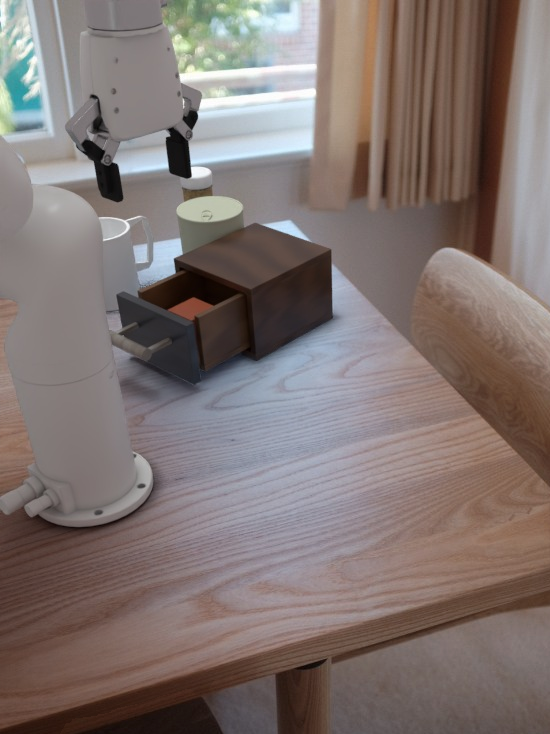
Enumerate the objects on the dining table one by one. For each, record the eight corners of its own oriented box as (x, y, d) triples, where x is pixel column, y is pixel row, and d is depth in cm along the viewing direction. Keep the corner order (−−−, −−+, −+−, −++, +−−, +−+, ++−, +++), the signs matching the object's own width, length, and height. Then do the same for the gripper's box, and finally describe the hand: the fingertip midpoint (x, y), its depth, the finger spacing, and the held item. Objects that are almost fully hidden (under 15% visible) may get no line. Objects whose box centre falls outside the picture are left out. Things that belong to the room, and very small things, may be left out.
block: (195, 352, 112) (191, 320, 109) (171, 341, 114) (166, 309, 111) (221, 339, 115) (217, 307, 112) (197, 328, 117) (193, 297, 114)
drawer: (164, 402, 106) (154, 342, 100) (96, 366, 112) (83, 308, 107) (272, 341, 116) (268, 284, 111) (205, 312, 123) (198, 257, 117)
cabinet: (256, 361, 114) (250, 289, 108) (182, 327, 121) (173, 258, 115) (332, 317, 123) (331, 248, 117) (260, 288, 130) (255, 222, 124)
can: (181, 301, 127) (170, 218, 119) (190, 273, 134) (180, 192, 126) (247, 301, 127) (240, 217, 119) (252, 272, 134) (246, 191, 126)
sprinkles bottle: (196, 269, 135) (185, 178, 126) (185, 257, 138) (174, 168, 130) (225, 262, 137) (216, 173, 128) (213, 251, 140) (204, 163, 131)
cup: (174, 290, 130) (165, 221, 123) (101, 317, 124) (87, 247, 117) (143, 271, 135) (133, 205, 128) (71, 296, 128) (56, 228, 122)
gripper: (165, -4, 97) (183, 161, 107) (26, 22, 86) (61, 200, 97) (213, 5, 93) (227, 174, 103) (74, 32, 83) (105, 217, 93)
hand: (147, 187), depth 100 cm, fingers open, 9 cm apart
